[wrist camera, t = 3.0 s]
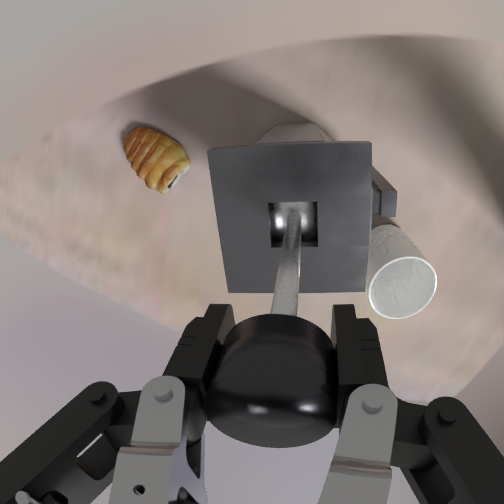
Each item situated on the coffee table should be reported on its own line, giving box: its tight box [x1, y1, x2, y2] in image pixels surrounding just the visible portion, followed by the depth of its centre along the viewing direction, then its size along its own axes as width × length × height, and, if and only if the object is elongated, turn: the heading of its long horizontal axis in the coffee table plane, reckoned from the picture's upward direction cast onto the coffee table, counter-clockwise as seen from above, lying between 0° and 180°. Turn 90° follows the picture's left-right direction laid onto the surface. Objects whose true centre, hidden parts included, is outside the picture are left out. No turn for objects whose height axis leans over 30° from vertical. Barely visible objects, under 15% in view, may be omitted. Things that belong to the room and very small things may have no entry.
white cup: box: [366, 224, 437, 319], centre depth 34 cm, size 8×8×10 cm
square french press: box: [207, 123, 397, 293], centre depth 27 cm, size 13×10×19 cm
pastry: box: [123, 127, 191, 194], centre depth 36 cm, size 9×7×4 cm
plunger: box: [203, 201, 337, 448], centre depth 14 cm, size 8×8×15 cm
